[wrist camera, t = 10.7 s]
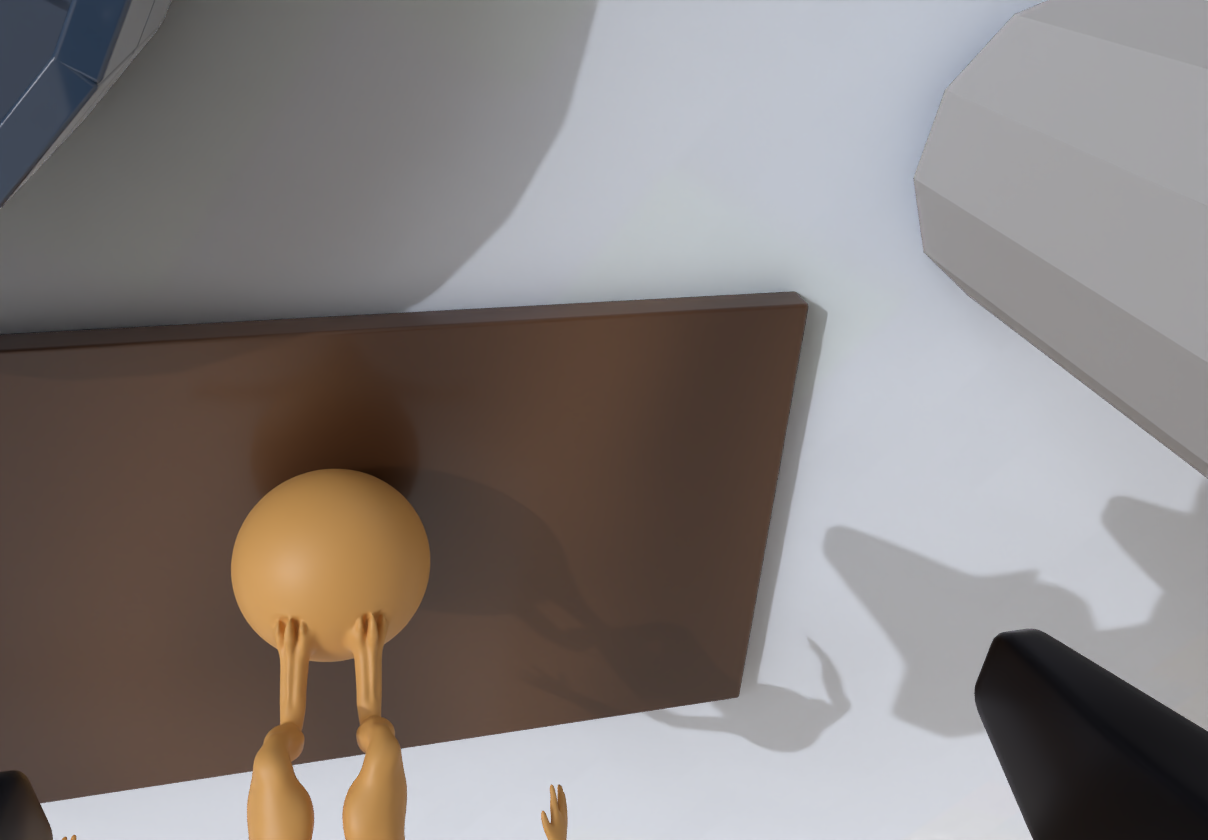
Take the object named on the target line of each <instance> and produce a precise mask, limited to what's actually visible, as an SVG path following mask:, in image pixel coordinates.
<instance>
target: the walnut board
mask: <svg viewBox="0 0 1208 840" xmlns="http://www.w3.org/2000/svg"><path fill="white" fill-rule="evenodd" d="M807 311H808V304H807V303H806V302H805V301H804V300H803V299H802V298H801V296H800V295H799V294H798V293H797V292H776V293H758V294H740V295H721V296H703V297H684V298H666V299H647V300H629V301H611V302H592V303H574V304H555V305H537V306H518V307H500V308H481V309H463V310H445V311H426V312H408V313H389V314H371V315H352V316H334V317H316V318H297V319H279V320H260V321H242V322H223V323H205V324H186V325H168V326H150V327H131V328H113V329H94V330H76V331H57V332H39V333H20V334H2V335H0V772H3V771H10V770H18V771H20V772H22V773H23V774H25V775H26V776H27V778H28V779H29V781H30V783H31V785H32V787H33V790H34V792H35V794H36V796H37V798H38V800H39V803H46V802H53V801H59V800H66V799H72V798H79V797H86V796H92V795H99V794H105V793H112V792H118V791H125V790H132V789H138V788H145V787H151V786H158V785H165V784H171V783H178V782H184V781H191V780H198V779H204V778H211V777H217V776H224V775H230V774H237V773H244V772H250V771H253V764H254V759H255V756H256V754H257V753H258V751H259V750H260V748H261V747H262V746H263V743H264V739H265V737H266V735H267V734H268V732H269V731H270V730H271V729H273V728H274V727H276V726H278V725H280V656H279V652H278V649H276V648H275V647H273V646H272V645H270V644H269V643H267V642H266V641H265V640H264V639H262V638H261V637H260V636H259V635H258V634H257V633H256V632H255V631H254V630H253V629H252V627H251V626H250V625H249V623H248V622H247V621H246V619H245V617H244V616H243V614H242V612H241V610H240V608H239V606H238V603H237V601H236V598H235V595H234V591H233V586H232V579H231V560H232V553H233V548H234V544H235V541H236V538H237V535H238V533H239V530H240V528H241V526H242V524H243V522H244V520H245V519H246V517H247V516H248V514H249V513H250V511H251V510H252V509H253V508H254V506H255V505H256V504H257V503H258V502H259V501H260V500H261V499H262V498H263V497H264V496H265V495H266V494H267V493H268V492H270V491H271V490H272V489H274V488H275V487H277V486H278V485H280V484H281V483H283V482H285V481H287V480H289V479H291V478H293V477H295V476H298V475H301V474H304V473H307V472H311V471H315V470H322V469H348V470H354V471H359V472H363V473H366V474H369V475H372V476H374V477H376V478H378V479H380V480H382V481H384V482H386V483H387V484H389V485H390V486H392V487H393V488H395V489H396V490H397V491H398V492H399V493H401V494H402V495H403V496H404V497H405V498H406V499H407V501H408V502H409V503H410V504H411V505H412V507H413V508H414V510H415V511H416V513H417V514H418V516H419V518H420V520H421V522H422V524H423V526H424V529H425V532H426V535H427V538H428V543H429V549H430V573H429V579H428V584H427V588H426V591H425V594H424V596H423V599H422V601H421V603H420V605H419V607H418V609H417V611H416V612H415V614H414V615H413V617H412V618H411V620H410V621H409V622H408V623H407V625H406V626H405V627H404V628H403V629H402V630H401V631H400V632H399V633H398V634H397V635H396V636H395V637H394V638H392V639H391V640H390V641H388V642H387V643H386V644H384V646H383V651H382V700H381V717H383V718H385V719H387V720H389V721H390V722H391V723H392V725H393V727H394V730H395V738H396V739H397V740H398V742H399V745H400V748H401V749H402V748H408V747H415V746H421V745H428V744H435V743H441V742H448V741H454V740H461V739H468V738H474V737H481V736H487V735H494V734H501V733H507V732H514V731H520V730H527V729H533V728H540V727H547V726H553V725H560V724H566V723H573V722H580V721H586V720H593V719H599V718H606V717H613V716H619V715H626V714H632V713H639V712H645V711H652V710H659V709H665V708H672V707H678V706H685V705H692V704H698V703H705V702H711V701H718V700H725V699H731V698H737V697H739V693H740V687H741V682H742V676H743V670H744V665H745V659H746V654H747V648H748V642H749V637H750V631H751V626H752V620H753V614H754V609H755V603H756V598H757V592H758V586H759V581H760V575H761V569H762V564H763V558H764V553H765V547H766V541H767V536H768V530H769V525H770V519H771V513H772V508H773V502H774V497H775V491H776V485H777V480H778V474H779V468H780V463H781V457H782V452H783V446H784V440H785V435H786V429H787V424H788V418H789V412H790V407H791V401H792V396H793V390H794V384H795V379H796V373H797V368H798V362H799V356H800V351H801V345H802V339H803V334H804V328H805V323H806V317H807ZM359 726H360V723H359V716H358V710H357V690H356V674H355V660H354V658H353V659H349V660H344V661H336V662H317V661H309V666H308V678H307V690H306V709H305V716H304V722H303V728H302V731H301V732H302V733H303V734H304V746H303V750H302V752H301V754H300V755H299V756H298V757H297V758H296V759H295V760H293V761H292V762H291V763H292V765H296V764H303V763H309V762H316V761H323V760H329V759H336V758H342V757H349V756H356V755H362V754H366V753H364V752H363V751H362V750H361V749H360V748H359V746H358V743H357V739H356V732H357V729H358V728H359Z"/></svg>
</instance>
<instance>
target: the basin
mask: <svg viewBox="0 0 1208 840" xmlns="http://www.w3.org/2000/svg"><path fill="white" fill-rule="evenodd" d="M171 1H172V0H0V208H1V207H3V206H4V205H5V204H6V203H7V202H8V201H9V200H10V199H11V197H12V196H13V195H14V194H15V193H16V192H17V191H18V190H19V189H20V188H21V187H22V186H23V185H24V184H25V183H26V181H27V180H28V179H29V178H30V177H31V176H32V175H33V174H34V173H35V172H36V171H37V170H38V169H39V168H40V167H41V165H42V164H43V163H44V162H45V161H46V160H47V159H48V158H49V157H50V155H52V154H53V153H54V152H55V150H56V149H57V148H58V147H59V146H60V145H61V144H62V143H63V142H64V141H65V140H66V139H67V138H68V137H69V136H70V134H71V133H72V132H73V131H74V130H75V129H76V128H77V127H78V126H79V125H80V124H81V123H82V122H83V121H84V120H85V118H86V117H87V116H88V115H89V114H90V112H91V111H92V110H93V109H94V107H95V106H96V105H97V104H98V102H99V101H100V100H101V99H102V98H103V96H104V95H105V94H106V93H107V91H108V90H109V89H110V88H111V87H112V85H113V84H114V83H115V82H116V80H117V79H118V78H119V77H120V75H121V74H122V73H123V72H124V71H125V69H126V68H127V67H128V66H129V64H130V63H131V62H132V61H133V60H134V58H135V57H136V56H137V55H138V53H139V52H140V51H141V50H142V48H143V47H144V46H145V45H146V44H147V42H148V41H149V40H150V39H151V37H152V36H153V35H154V34H155V33H156V31H157V30H158V29H159V27H160V24H161V23H162V22H163V21H164V19H165V16H166V14H167V11H168V8H169V6H170V3H171Z"/></svg>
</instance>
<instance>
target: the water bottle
mask: <svg viewBox="0 0 1208 840" xmlns="http://www.w3.org/2000/svg"><path fill="white" fill-rule="evenodd" d="M913 179H914V186H915V193H916V200H917V208H918V215H919V222H920V230H921V237H922V244H923V251H924V253H925V254H926V255H927V256H928V257H929V258H930V259H931V260H932V261H933V262H934V263H935V264H936V265H937V266H938V267H939V268H940V269H941V270H942V271H943V272H944V273H946V274H947V275H948V276H949V277H950V278H951V279H952V280H953V281H954V282H955V283H956V284H957V285H958V286H959V287H960V288H961V289H962V290H963V291H964V292H965V293H966V294H967V295H968V296H969V297H971V298H972V299H973V300H975V301H976V302H977V303H978V304H980V305H981V306H982V307H984V308H985V309H986V310H988V311H989V312H990V313H992V314H993V315H994V316H996V317H997V318H998V319H999V320H1001V321H1002V322H1003V323H1005V324H1006V325H1007V326H1009V327H1010V328H1011V329H1013V330H1014V331H1015V332H1016V333H1018V334H1019V335H1020V336H1022V337H1023V338H1024V339H1026V340H1027V341H1028V342H1030V343H1031V344H1032V345H1034V346H1035V347H1036V348H1037V349H1039V350H1040V351H1041V352H1043V353H1044V354H1045V355H1047V356H1048V357H1049V358H1051V359H1052V360H1053V361H1054V362H1056V363H1057V364H1058V365H1060V366H1061V367H1062V368H1064V369H1065V370H1066V371H1068V372H1069V373H1070V374H1071V375H1073V376H1074V377H1075V378H1077V379H1078V380H1079V381H1081V382H1082V383H1083V384H1085V385H1086V386H1087V387H1089V388H1090V389H1091V390H1092V391H1094V392H1095V393H1096V394H1098V395H1099V396H1100V397H1102V398H1103V399H1104V400H1106V401H1107V402H1108V403H1109V404H1111V405H1112V406H1113V407H1115V408H1116V409H1117V410H1119V411H1120V412H1121V413H1123V414H1124V415H1125V416H1127V417H1128V418H1129V419H1130V420H1132V421H1133V422H1134V423H1136V424H1137V425H1138V426H1140V427H1141V428H1142V429H1144V430H1145V431H1146V432H1147V433H1149V434H1150V435H1151V436H1153V437H1154V438H1155V439H1157V440H1158V441H1159V442H1161V443H1162V444H1163V445H1164V446H1166V447H1167V448H1168V449H1170V450H1171V451H1172V452H1174V453H1175V454H1176V455H1178V456H1179V457H1180V458H1182V459H1183V460H1184V461H1185V462H1187V463H1188V464H1189V465H1191V466H1192V467H1193V468H1195V469H1196V470H1197V471H1199V472H1200V473H1201V474H1202V475H1204V476H1205V477H1206V478H1208V0H1047V1H1045V2H1043V3H1040V4H1038V5H1035V6H1033V7H1031V8H1028V9H1026V10H1023V11H1021V12H1019V13H1016V14H1014V15H1013V16H1012V17H1011V19H1010V20H1009V21H1008V22H1007V23H1006V24H1005V25H1004V26H1003V27H1002V28H1001V29H1000V31H999V32H998V33H997V34H996V35H995V36H994V37H993V38H992V39H991V40H990V41H989V43H988V44H987V45H986V46H985V47H984V48H983V49H982V50H981V51H980V52H979V53H978V55H977V56H976V57H975V58H974V59H973V60H972V61H971V62H970V63H969V64H968V65H967V67H966V68H965V69H964V70H963V71H962V72H961V73H960V74H959V75H958V76H957V77H956V79H955V80H954V81H953V82H952V83H951V84H950V85H949V86H948V87H947V88H946V90H945V92H944V95H943V97H942V100H941V103H940V106H939V108H938V111H937V114H936V117H935V120H934V122H933V125H932V128H931V131H930V133H929V136H928V139H927V142H926V144H925V147H924V150H923V153H922V156H921V158H920V161H919V164H918V167H917V169H916V172H915V175H914V178H913Z"/></svg>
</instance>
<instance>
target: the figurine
mask: <svg viewBox="0 0 1208 840" xmlns="http://www.w3.org/2000/svg"><path fill="white" fill-rule="evenodd" d="M429 573H430V549H429V543H428V538H427V535H426V532H425V529H424V526H423V524H422V522H421V520H420V518H419V516H418V514H417V513H416V511H415V510H414V508H413V507H412V505H411V504H410V503H409V502H408V501H407V499H406V498H405V497H404V496H403V495H402V494H401V493H399V492H398V491H397V490H396V489H395V488H393V487H392V486H390V485H389V484H387V483H386V482H384V481H382V480H380V479H378V478H376V477H374V476H372V475H369V474H366V473H363V472H359V471H354V470H348V469H322V470H315V471H311V472H307V473H304V474H301V475H298V476H295V477H293V478H291V479H289V480H287V481H285V482H283V483H281V484H280V485H278V486H277V487H275V488H274V489H272V490H271V491H270V492H268V493H267V494H266V495H265V496H264V497H263V498H262V499H261V500H260V501H259V502H258V503H257V504H256V505H255V506H254V508H253V509H252V510H251V511H250V513H249V514H248V516H247V517H246V519H245V520H244V522H243V524H242V526H241V528H240V530H239V533H238V535H237V538H236V541H235V544H234V548H233V553H232V560H231V579H232V586H233V591H234V595H235V598H236V601H237V603H238V606H239V608H240V610H241V612H242V614H243V616H244V617H245V619H246V621H247V622H248V623H249V625H250V626H251V627H252V629H253V630H254V631H255V632H256V633H257V634H258V635H259V636H260V637H261V638H262V639H264V640H265V641H266V642H267V643H269V644H270V645H272V646H273V647H275V648H276V649H278V652H279V656H280V725H278V726H276V727H274V728H273V729H271V730H270V731H269V732H268V734H267V735H266V737H265V739H264V743H263V746H262V747H261V748H260V750H259V751H258V753H257V754H256V756H255V759H254V764H253V773H252V780H251V785H250V790H249V796H248V803H247V822H248V833H249V840H311V839H312V834H313V827H314V810H313V805H312V801H311V798H310V796H309V794H308V792H307V791H306V789H305V788H304V787H303V786H302V785H301V784H300V782H299V781H298V780H297V778H296V776H295V773H294V770H293V767H292V763H291V762H292V761H293V760H295V759H296V758H297V757H298V756H299V755H300V754H301V752H302V750H303V746H304V734H303V733H302V732H301V731H302V728H303V722H304V716H305V709H306V690H307V678H308V666H309V661H317V662H336V661H344V660H349V659H353V658H354V660H355V674H356V690H357V710H358V716H359V723H360V726H359V728H358V729H357V732H356V739H357V743H358V746H359V748H360V749H361V750H362V751H363V752H364V753H366V755H365V759H364V762H363V766H362V769H361V771H360V773H359V775H358V776H357V778H356V779H355V781H354V782H353V783H352V785H351V787H350V788H349V790H348V792H347V795H346V798H345V801H344V806H343V829H344V835H345V839H346V840H405V836H404V825H405V814H406V804H407V785H406V778H405V773H404V768H403V762H402V756H401V748H400V745H399V742H398V740H397V739H396V738H395V730H394V727H393V725H392V723H391V722H390V721H389V720H387V719H385V718H383V717H381V700H382V651H383V646H384V644H386V643H387V642H388V641H390V640H391V639H392V638H394V637H395V636H396V635H397V634H398V633H399V632H400V631H401V630H402V629H403V628H404V627H405V626H406V625H407V623H408V622H409V621H410V620H411V618H412V617H413V615H414V614H415V612H416V611H417V609H418V607H419V605H420V603H421V601H422V599H423V596H424V594H425V591H426V588H427V584H428V579H429ZM550 795H551V801H550V811H551V823H549V821H548V818H547V816H546V813H545V812H544V811H542V813H541V819H542V824H543V828H544V831H545V833H546V836H547V838H548V840H566V836H567V805H566V798H565V794H564V792H563V789H562V786H561V785H558V800H557V798H556V793H555V789H554V786H553V785H551V786H550ZM62 840H67V837H64V838H63V839H62ZM71 840H76V835H73V836H72V838H71Z"/></svg>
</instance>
